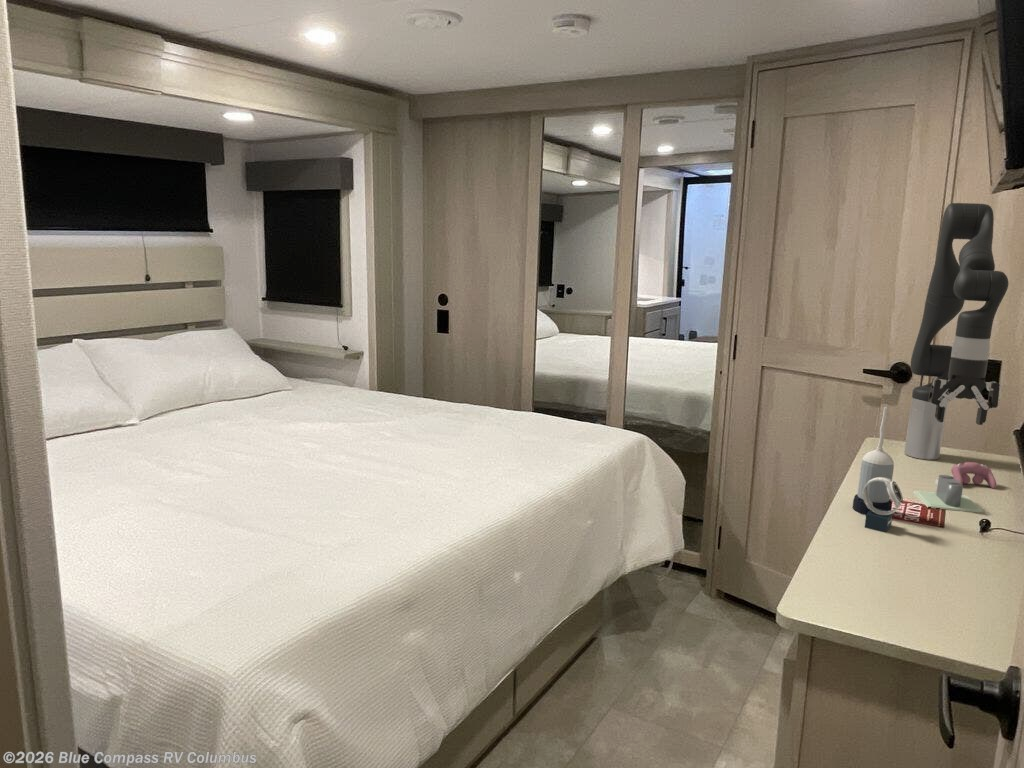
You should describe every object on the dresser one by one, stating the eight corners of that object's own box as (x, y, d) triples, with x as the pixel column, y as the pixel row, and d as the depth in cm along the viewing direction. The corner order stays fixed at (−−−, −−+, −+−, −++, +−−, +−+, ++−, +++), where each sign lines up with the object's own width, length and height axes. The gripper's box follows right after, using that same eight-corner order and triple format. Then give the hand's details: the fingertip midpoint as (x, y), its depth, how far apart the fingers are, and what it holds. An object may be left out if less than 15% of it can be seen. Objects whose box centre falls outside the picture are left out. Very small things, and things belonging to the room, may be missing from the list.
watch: (895, 534, 159) (902, 486, 157) (856, 525, 164) (862, 478, 162) (901, 527, 164) (907, 480, 161) (862, 518, 168) (868, 472, 166)
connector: (931, 490, 187) (934, 471, 186) (945, 491, 186) (948, 472, 185) (947, 506, 176) (950, 486, 175) (962, 507, 175) (965, 487, 174)
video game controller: (988, 490, 195) (986, 464, 197) (998, 488, 190) (995, 461, 192) (950, 488, 196) (947, 462, 197) (958, 486, 191) (956, 459, 193)
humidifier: (875, 519, 168) (889, 412, 163) (844, 507, 175) (857, 404, 170) (898, 514, 172) (913, 409, 167) (867, 502, 179) (880, 402, 174)
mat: (913, 492, 187) (913, 490, 187) (965, 497, 184) (965, 494, 184) (927, 507, 176) (928, 505, 176) (983, 512, 174) (983, 510, 174)
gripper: (996, 355, 175) (985, 421, 179) (931, 351, 178) (921, 416, 181) (1010, 360, 168) (998, 429, 171) (942, 356, 171) (932, 424, 174)
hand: (959, 422), depth 176 cm, fingers open, 8 cm apart
